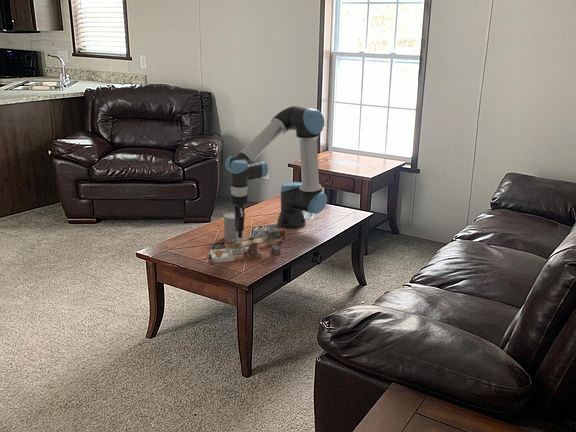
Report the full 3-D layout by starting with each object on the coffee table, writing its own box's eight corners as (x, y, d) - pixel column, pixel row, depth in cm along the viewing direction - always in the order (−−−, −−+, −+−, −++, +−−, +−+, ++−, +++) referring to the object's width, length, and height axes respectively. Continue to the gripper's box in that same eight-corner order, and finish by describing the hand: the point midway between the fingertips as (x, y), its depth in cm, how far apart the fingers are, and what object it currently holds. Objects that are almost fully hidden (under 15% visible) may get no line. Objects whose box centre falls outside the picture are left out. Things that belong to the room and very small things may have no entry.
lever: (278, 236, 280) (277, 227, 278) (281, 241, 274) (280, 231, 273) (224, 246, 274) (223, 236, 272) (226, 250, 269) (225, 240, 267)
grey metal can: (240, 242, 290) (239, 219, 286) (221, 241, 292) (221, 217, 288) (245, 236, 299) (245, 213, 295) (227, 234, 301) (226, 211, 297)
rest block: (277, 249, 282) (277, 244, 281) (280, 254, 276) (280, 249, 276) (271, 250, 281) (271, 245, 280) (274, 254, 276) (274, 250, 275)
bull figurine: (259, 243, 290) (259, 227, 287) (284, 239, 295) (284, 224, 292) (262, 246, 286) (262, 230, 283) (287, 242, 291) (288, 227, 288)
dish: (230, 252, 278) (230, 248, 278) (234, 260, 268) (234, 256, 268) (209, 254, 276) (209, 250, 275) (213, 262, 266) (213, 258, 265)
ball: (213, 250, 272) (216, 256, 273) (214, 253, 269) (218, 259, 270) (219, 246, 272) (223, 252, 273) (220, 249, 269) (224, 255, 270)
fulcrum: (257, 250, 280) (257, 236, 278) (261, 257, 273) (261, 242, 270) (245, 251, 279) (244, 237, 277) (248, 258, 271) (248, 243, 269)
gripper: (228, 191, 270) (229, 239, 277) (233, 199, 258) (234, 248, 265) (244, 190, 272) (244, 237, 279) (250, 198, 260) (250, 247, 267)
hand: (239, 243), depth 272 cm, fingers closed
